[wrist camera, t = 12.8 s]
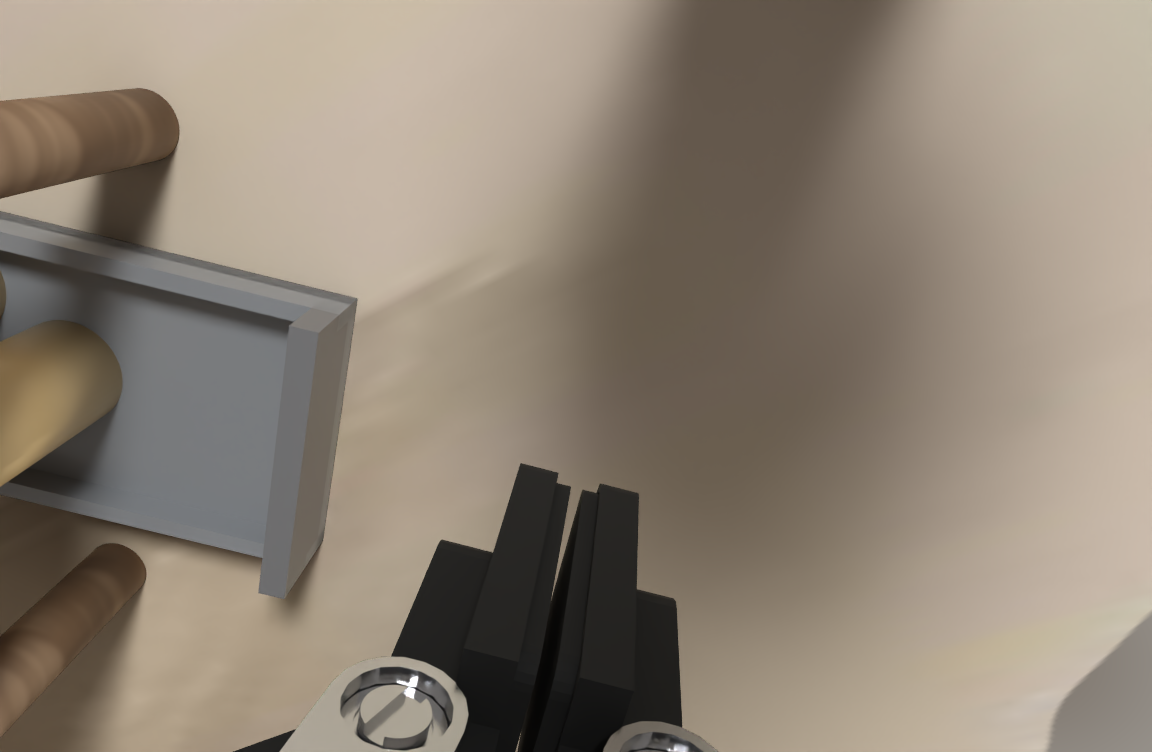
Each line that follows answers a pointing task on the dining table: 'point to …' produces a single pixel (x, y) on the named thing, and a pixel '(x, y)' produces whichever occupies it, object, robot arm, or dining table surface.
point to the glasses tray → (170, 393)
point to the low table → (25, 163)
